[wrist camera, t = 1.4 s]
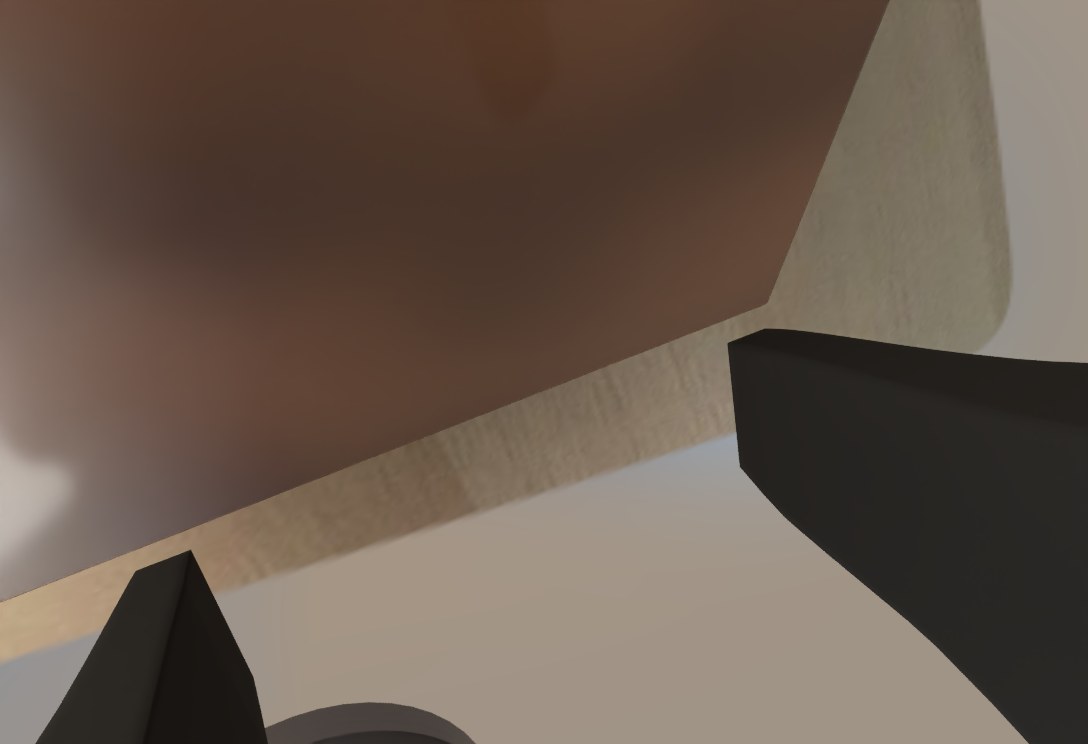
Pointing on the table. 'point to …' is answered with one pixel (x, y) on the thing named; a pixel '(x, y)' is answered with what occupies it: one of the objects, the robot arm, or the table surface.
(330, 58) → the lid
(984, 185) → the table surface
